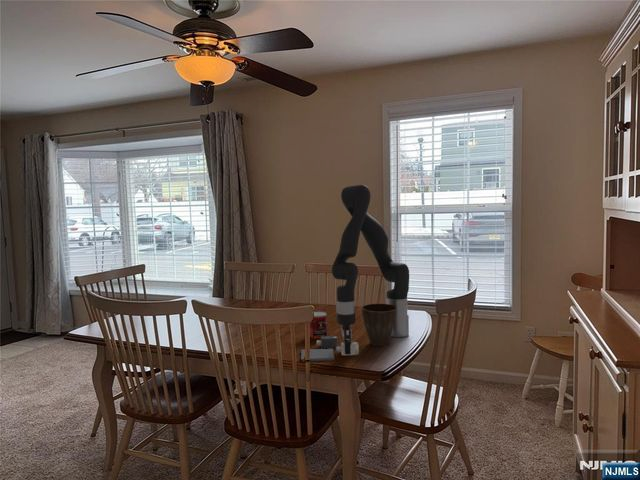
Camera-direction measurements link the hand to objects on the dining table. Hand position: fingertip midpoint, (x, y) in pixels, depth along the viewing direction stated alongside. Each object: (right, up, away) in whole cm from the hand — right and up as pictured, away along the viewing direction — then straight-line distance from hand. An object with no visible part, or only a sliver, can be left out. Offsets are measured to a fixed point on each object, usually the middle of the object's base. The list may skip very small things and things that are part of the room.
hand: (346, 350), depth 183 cm
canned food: (-11, 0, +23) cm, 26 cm away
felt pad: (-12, -2, -2) cm, 12 cm away
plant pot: (+15, 0, +11) cm, 19 cm away
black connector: (-8, -1, +9) cm, 12 cm away
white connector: (0, -1, 0) cm, 1 cm away
